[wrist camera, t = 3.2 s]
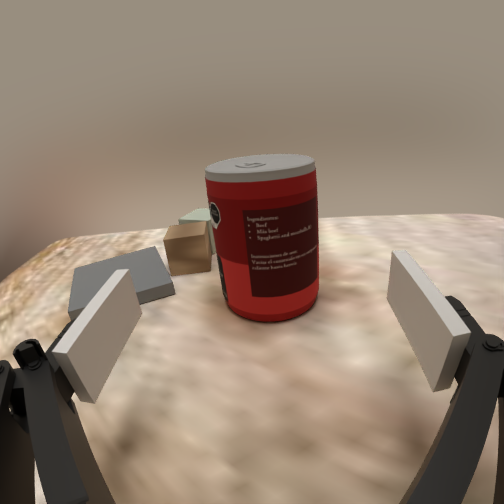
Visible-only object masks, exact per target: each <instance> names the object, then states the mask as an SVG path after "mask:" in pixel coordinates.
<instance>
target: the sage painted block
mask: <svg viewBox="0 0 504 504" xmlns="http://www.w3.org/2000/svg"><path fill="white" fill-rule="evenodd" d="M203 221H206V223H207V229H208V235H209V241H210V247H211V254H214V253H216V248H215V242H214V235H213V229H212V223H211V216H210V210H209V209H203V208H198V209H196V210H194V211H192V212H191V213H189V214H187V215H185V216H183V217H182V218H180V219H179V225H181V224H188V223H195V222H203Z"/></svg>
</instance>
